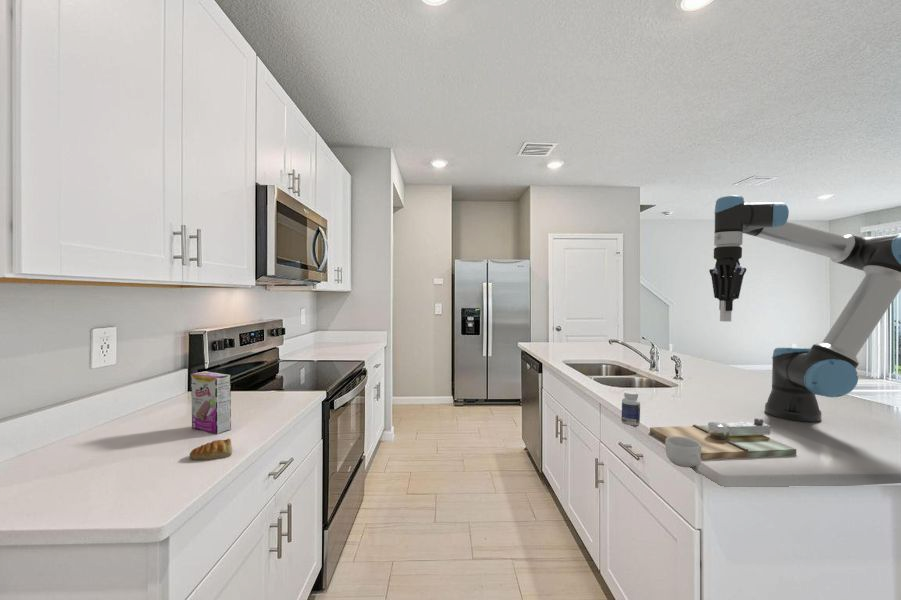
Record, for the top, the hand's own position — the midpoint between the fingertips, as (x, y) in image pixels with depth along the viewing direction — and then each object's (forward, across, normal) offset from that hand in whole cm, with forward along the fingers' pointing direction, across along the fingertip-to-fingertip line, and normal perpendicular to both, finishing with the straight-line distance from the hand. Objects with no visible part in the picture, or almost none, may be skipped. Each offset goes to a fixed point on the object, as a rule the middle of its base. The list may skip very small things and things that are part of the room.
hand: (725, 321), depth 138 cm
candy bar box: (+33, -8, -157) cm, 161 cm away
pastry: (+33, +12, -148) cm, 152 cm away
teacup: (+33, +30, -34) cm, 56 cm away
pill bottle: (+33, -2, -30) cm, 44 cm away
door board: (+32, +17, -15) cm, 40 cm away
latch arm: (+30, +17, -9) cm, 36 cm away
